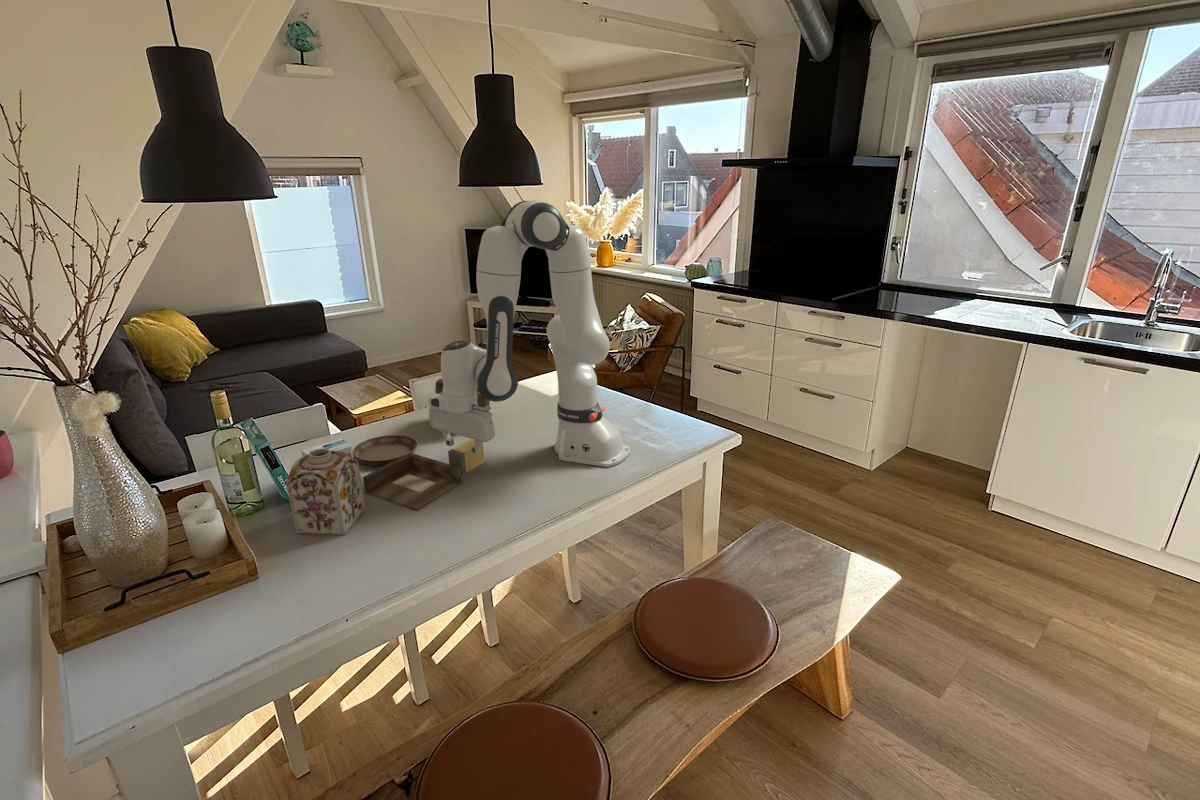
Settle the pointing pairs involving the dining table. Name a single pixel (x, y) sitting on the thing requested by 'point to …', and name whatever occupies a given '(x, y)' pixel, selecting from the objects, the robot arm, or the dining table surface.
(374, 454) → the plant saucer
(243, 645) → the dining table surface
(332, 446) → the light bulb box
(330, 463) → the decorative jar
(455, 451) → the ochre block
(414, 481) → the corner arena
